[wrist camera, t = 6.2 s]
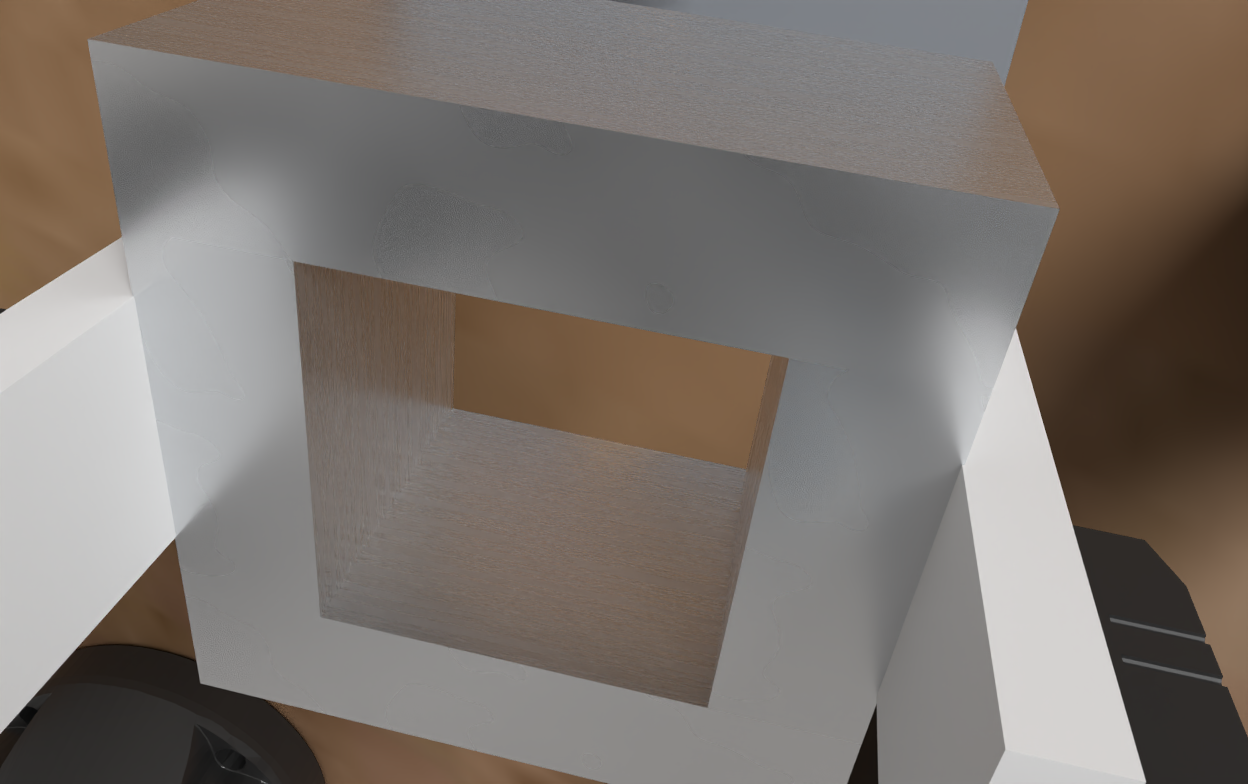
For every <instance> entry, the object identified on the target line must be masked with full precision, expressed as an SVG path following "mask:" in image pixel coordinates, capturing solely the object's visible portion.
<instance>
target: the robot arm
mask: <svg viewBox="0 0 1248 784" xmlns="http://www.w3.org/2000/svg"><path fill="white" fill-rule="evenodd" d="M175 537H176V533H175V527H174V521H173V515H172V510H171V504H170V498H169V492H168V487H167V481H166V475H165V469H164V464H163V458H162V452H161V447H160V441H159V435H158V429H157V424H156V418H155V412H154V406H153V401H152V395H151V389H150V383H149V378H148V372H147V366H146V361H145V355H144V349H143V343H142V338H141V332H140V326H139V320H138V315H137V309H136V303H135V297H134V296H132V290H131V284H130V279H129V273H128V267H127V262H126V256H125V250H124V244H123V239H122V237H121V238H120V239H118V240H117V241H115V242H113V243H112V244H110V245H109V246H107V247H105V248H104V249H102V250H101V251H99V252H97V253H96V254H94V255H93V256H91V257H90V258H88V259H86V260H85V261H83V262H82V263H80V264H78V265H77V266H75V267H74V268H72V269H71V270H69V271H67V272H66V273H64V274H63V275H61V276H59V277H58V278H56V279H55V280H53V281H51V282H50V283H48V284H47V285H45V286H44V287H42V288H40V289H39V290H37V291H36V292H34V293H32V294H31V295H29V296H28V297H26V298H24V299H23V300H21V301H20V302H18V303H17V304H15V305H13V306H12V307H10V308H9V309H7V310H6V309H0V784H325V781H324V777H323V774H322V772H321V769H320V767H319V765H318V763H317V761H316V759H315V757H314V755H313V753H312V752H311V750H310V749H309V747H308V746H307V744H306V743H305V741H304V740H303V739H302V737H301V736H300V735H299V734H298V733H297V731H296V730H295V729H294V728H293V727H292V726H291V725H290V724H289V723H288V722H287V721H286V719H285V718H283V717H282V716H281V715H280V714H279V713H278V712H277V711H276V710H275V709H274V708H272V707H271V706H270V705H269V704H268V703H266V702H265V701H264V700H262V699H261V698H258V697H254V696H250V695H246V694H242V693H238V692H234V691H230V690H226V689H222V688H217V687H213V686H209V685H205V684H201V683H200V678H199V672H198V667H197V662H194V661H192V660H189V659H186V658H183V657H180V656H177V655H174V654H170V653H167V652H163V651H159V650H154V649H149V648H143V647H135V646H124V645H104V646H94V647H88V648H83V649H79V650H76V651H75V649H76V648H77V647H78V646H79V645H80V644H81V643H82V642H83V640H84V639H85V638H86V637H87V636H88V635H89V634H90V633H91V631H92V630H93V629H94V628H95V627H96V626H97V625H98V624H99V623H100V621H101V620H102V619H103V618H104V617H105V616H106V615H107V614H108V612H109V611H110V610H111V609H112V608H113V607H114V606H115V605H116V603H117V602H118V601H119V600H120V599H121V598H122V597H123V596H124V594H125V593H126V592H127V591H128V590H129V589H130V588H131V587H132V586H133V584H134V583H135V582H136V581H137V580H138V579H139V578H140V577H141V575H142V574H143V573H144V572H145V571H146V570H147V569H148V568H149V566H150V565H151V564H152V563H153V562H154V561H155V560H156V559H157V557H158V556H159V555H160V554H161V553H162V552H163V551H164V550H165V548H166V547H167V546H168V545H169V544H170V543H171V542H172V541H173V540H174V538H175ZM1205 637H1206V634H1205V631H1204V629H1203V626H1202V624H1201V621H1200V619H1199V616H1198V614H1197V611H1196V609H1195V607H1194V604H1193V602H1192V599H1191V597H1190V594H1189V592H1188V589H1187V587H1186V585H1185V584H1184V583H1183V582H1182V581H1181V580H1180V579H1179V578H1178V577H1177V575H1176V574H1175V573H1174V572H1173V571H1172V570H1171V569H1170V568H1169V567H1168V565H1167V564H1166V563H1165V562H1164V561H1163V560H1162V559H1161V558H1160V557H1159V556H1158V554H1157V553H1156V552H1155V551H1154V550H1153V549H1152V548H1151V547H1150V546H1149V544H1148V543H1147V542H1146V541H1145V540H1142V539H1137V538H1132V537H1127V536H1122V535H1117V534H1112V533H1108V532H1103V531H1098V530H1093V529H1088V528H1083V527H1079V526H1074V525H1072V522H1071V519H1070V515H1069V512H1068V508H1067V505H1066V501H1065V498H1064V494H1063V491H1062V487H1061V484H1060V480H1059V477H1058V473H1057V470H1056V466H1055V463H1054V459H1053V456H1052V452H1051V449H1050V445H1049V442H1048V439H1047V435H1046V432H1045V428H1044V425H1043V421H1042V418H1041V414H1040V411H1039V407H1038V404H1037V400H1036V397H1035V393H1034V390H1033V386H1032V383H1031V379H1030V376H1029V372H1028V369H1027V365H1026V362H1025V358H1024V355H1023V351H1022V348H1021V344H1020V341H1019V338H1018V334H1017V331H1016V328H1015V331H1014V334H1013V336H1012V339H1011V342H1010V345H1009V347H1008V350H1007V353H1006V355H1005V358H1004V361H1003V363H1002V366H1001V369H1000V372H999V374H998V377H997V380H996V382H995V385H994V388H993V390H992V393H991V396H990V399H989V401H988V404H987V407H986V409H985V412H984V415H983V418H982V420H981V423H980V426H979V428H978V431H977V434H976V436H975V439H974V442H973V445H972V447H971V450H970V453H969V455H968V458H967V461H966V463H965V465H962V466H961V469H960V472H959V474H958V477H957V480H956V482H955V485H954V488H953V491H952V493H951V496H950V499H949V502H948V504H947V507H946V510H945V512H944V515H943V518H942V521H941V523H940V526H939V529H938V531H937V534H936V537H935V540H934V542H933V545H932V548H931V550H930V553H929V556H928V559H927V561H926V564H925V567H924V569H923V572H922V575H921V578H920V580H919V583H918V586H917V589H916V591H915V594H914V597H913V599H912V602H911V605H910V608H909V610H908V613H907V616H906V618H905V621H904V624H903V627H902V629H901V632H900V635H899V637H898V640H897V643H896V646H895V648H894V651H893V654H892V656H891V659H890V662H889V665H888V667H887V670H886V673H885V676H884V678H883V681H882V684H881V686H880V689H879V692H878V695H877V742H878V784H1248V737H1247V735H1246V732H1245V730H1244V727H1243V725H1242V722H1241V720H1240V717H1239V715H1238V712H1237V710H1236V708H1235V705H1234V703H1233V700H1232V698H1231V695H1230V693H1229V690H1228V688H1227V687H1224V686H1222V684H1221V681H1222V677H1223V675H1222V673H1221V671H1220V668H1219V666H1218V663H1217V661H1216V658H1215V656H1214V653H1213V651H1212V648H1211V646H1210V645H1208V644H1205Z"/></svg>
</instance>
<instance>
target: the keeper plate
mask: <svg viewBox="0 0 1248 784" xmlns="http://www.w3.org/2000/svg"><path fill="white" fill-rule="evenodd" d="M609 1H616V2H622V3H628V4H634V5H640V6H647V7H653V8H659V9H665V10H672V11H678V12H684V13H690V14H697V15H703V16H709V17H715V18H721V19H728V20H734V21H740V22H746V23H753V24H759V25H765V26H771V27H778V28H784V29H790V30H796V31H802V32H809V33H815V34H821V35H827V36H834V37H840V38H846V39H852V40H859V41H865V42H871V43H877V44H883V45H890V46H896V47H902V48H908V49H915V50H921V51H927V52H933V53H940V54H946V55H952V56H958V57H964V58H971V59H977V60H983V61H989V62H993V64H994V66H995V68H996V70H997V72H998V75H999V77H1000V79H1001V81H1002V83H1003V86H1005V82H1006V78H1007V75H1008V71H1009V68H1010V64H1011V60H1012V57H1013V53H1014V49H1015V46H1016V42H1017V39H1018V35H1019V31H1020V28H1021V24H1022V21H1023V17H1024V13H1025V10H1026V6H1027V3H1028V0H609Z"/></svg>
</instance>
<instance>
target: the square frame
mask: <svg viewBox="0 0 1248 784" xmlns="http://www.w3.org/2000/svg"><path fill="white" fill-rule="evenodd" d="M88 45H89V50H90V56H91V62H92V68H93V73H94V79H95V85H96V90H97V96H98V102H99V108H100V113H101V119H102V125H103V130H104V136H105V142H106V147H107V153H108V159H109V165H110V170H111V176H112V182H113V187H114V193H115V199H116V204H117V210H118V216H119V222H120V227H121V233H122V239H123V244H124V250H125V256H126V262H127V267H128V273H129V279H130V284H131V290H132V296H134V297H135V303H136V309H137V315H138V320H139V326H140V332H141V338H142V343H143V349H144V355H145V361H146V366H147V372H148V378H149V383H150V389H151V395H152V401H153V406H154V412H155V418H156V424H157V429H158V435H159V441H160V447H161V452H162V458H163V464H164V469H165V475H166V481H167V487H168V492H169V498H170V504H171V510H172V515H173V521H174V527H175V533H176V537H175V541H176V547H177V552H178V558H179V564H180V570H181V575H182V581H183V587H184V592H185V598H186V604H187V609H188V615H189V621H190V627H191V632H192V638H193V644H194V649H195V655H196V661H197V667H198V672H199V678H200V683H201V684H205V685H209V686H213V687H217V688H222V689H226V690H230V691H234V692H238V693H242V694H246V695H250V696H254V697H258V698H262V699H266V700H270V701H275V702H279V703H283V704H287V705H291V706H295V707H299V708H303V709H307V710H311V711H315V712H319V713H323V714H327V715H332V716H336V717H340V718H344V719H348V720H352V721H356V722H360V723H364V724H368V725H372V726H376V727H380V728H385V729H389V730H393V731H397V732H401V733H405V734H409V735H413V736H417V737H421V738H425V739H429V740H433V741H437V742H442V743H446V744H450V745H454V746H458V747H462V748H466V749H470V750H474V751H478V752H482V753H486V754H490V755H495V756H499V757H503V758H507V759H511V760H515V761H519V762H523V763H527V764H531V765H535V766H539V767H543V768H547V769H552V770H556V771H560V772H564V773H568V774H572V775H576V776H580V777H584V778H588V779H592V780H596V781H600V782H605V783H609V784H847V782H848V780H849V777H850V774H851V772H852V769H853V766H854V764H855V761H856V758H857V755H858V753H859V750H860V747H861V745H862V742H863V739H864V737H865V734H866V731H867V728H868V726H869V723H870V720H871V718H872V715H873V712H874V709H875V707H876V704H877V695H878V692H879V689H880V686H881V684H882V681H883V678H884V676H885V673H886V670H887V667H888V665H889V662H890V659H891V656H892V654H893V651H894V648H895V646H896V643H897V640H898V637H899V635H900V632H901V629H902V627H903V624H904V621H905V618H906V616H907V613H908V610H909V608H910V605H911V602H912V599H913V597H914V594H915V591H916V589H917V586H918V583H919V580H920V578H921V575H922V572H923V569H924V567H925V564H926V561H927V559H928V556H929V553H930V550H931V548H932V545H933V542H934V540H935V537H936V534H937V531H938V529H939V526H940V523H941V521H942V518H943V515H944V512H945V510H946V507H947V504H948V502H949V499H950V496H951V493H952V491H953V488H954V485H955V482H956V480H957V477H958V474H959V472H960V469H961V466H962V465H965V463H966V461H967V458H968V455H969V453H970V450H971V447H972V445H973V442H974V439H975V436H976V434H977V431H978V428H979V426H980V423H981V420H982V418H983V415H984V412H985V409H986V407H987V404H988V401H989V399H990V396H991V393H992V390H993V388H994V385H995V382H996V380H997V377H998V374H999V372H1000V369H1001V366H1002V363H1003V361H1004V358H1005V355H1006V353H1007V350H1008V347H1009V345H1010V342H1011V339H1012V336H1013V334H1014V331H1015V328H1016V326H1017V323H1018V320H1019V318H1020V315H1021V312H1022V309H1023V307H1024V304H1025V301H1026V299H1027V296H1028V293H1029V290H1030V288H1031V285H1032V282H1033V280H1034V277H1035V274H1036V272H1037V269H1038V266H1039V263H1040V261H1041V258H1042V255H1043V253H1044V250H1045V247H1046V245H1047V242H1048V239H1049V236H1050V234H1051V231H1052V228H1053V226H1054V223H1055V220H1056V217H1057V215H1058V212H1059V206H1058V204H1057V202H1056V200H1055V198H1054V195H1053V193H1052V191H1051V189H1050V187H1049V184H1048V182H1047V180H1046V178H1045V176H1044V173H1043V171H1042V169H1041V167H1040V165H1039V162H1038V160H1037V158H1036V156H1035V154H1034V151H1033V149H1032V147H1031V145H1030V143H1029V141H1028V138H1027V136H1026V134H1025V132H1024V130H1023V127H1022V125H1021V123H1020V121H1019V119H1018V116H1017V114H1016V112H1015V110H1014V108H1013V105H1012V103H1011V101H1010V99H1009V97H1008V94H1007V92H1006V90H1005V88H1004V86H1003V83H1002V81H1001V79H1000V77H999V75H998V72H997V70H996V68H995V66H994V64H993V62H989V61H983V60H977V59H971V58H964V57H958V56H952V55H946V54H940V53H933V52H927V51H921V50H915V49H908V48H902V47H896V46H890V45H883V44H877V43H871V42H865V41H859V40H852V39H846V38H840V37H834V36H827V35H821V34H815V33H809V32H802V31H796V30H790V29H784V28H778V27H771V26H765V25H759V24H753V23H746V22H740V21H734V20H728V19H721V18H715V17H709V16H703V15H697V14H690V13H684V12H678V11H672V10H665V9H659V8H653V7H647V6H640V5H634V4H628V3H622V2H616V1H609V0H198V1H196V2H193V3H190V4H187V5H184V6H181V7H178V8H176V9H173V10H170V11H167V12H164V13H161V14H158V15H155V16H153V17H150V18H147V19H144V20H141V21H138V22H135V23H133V24H130V25H127V26H124V27H121V28H118V29H115V30H113V31H110V32H107V33H104V34H101V35H98V36H95V37H93V38H90V39H88ZM456 293H458V294H464V295H469V296H474V297H479V298H484V299H489V300H494V301H499V302H505V303H510V304H515V305H520V306H525V307H530V308H535V309H540V310H545V311H551V312H556V313H561V314H566V315H571V316H576V317H581V318H586V319H591V320H597V321H602V322H607V323H612V324H617V325H622V326H627V327H632V328H638V329H643V330H648V331H653V332H658V333H663V334H668V335H673V336H678V337H684V338H689V339H694V340H699V341H704V342H709V343H714V344H719V345H725V346H730V347H735V348H740V349H745V350H750V351H755V352H760V353H765V354H771V355H772V356H771V360H770V365H769V369H768V374H767V378H766V383H765V387H764V392H763V396H762V401H761V405H760V410H759V414H758V419H757V423H756V428H755V432H754V437H753V441H752V446H751V450H750V455H749V459H748V464H747V468H746V469H742V468H737V467H732V466H727V465H722V464H718V463H713V462H708V461H703V460H698V459H694V458H689V457H684V456H679V455H674V454H670V453H665V452H660V451H655V450H650V449H646V448H641V447H636V446H631V445H626V444H622V443H617V442H612V441H607V440H602V439H598V438H593V437H588V436H583V435H578V434H574V433H569V432H564V431H559V430H554V429H550V428H545V427H540V426H535V425H530V424H526V423H521V422H516V421H511V420H506V419H502V418H497V417H492V416H487V415H482V414H478V413H473V412H468V411H463V410H458V409H454V408H453V389H454V342H455V296H456Z"/></svg>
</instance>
